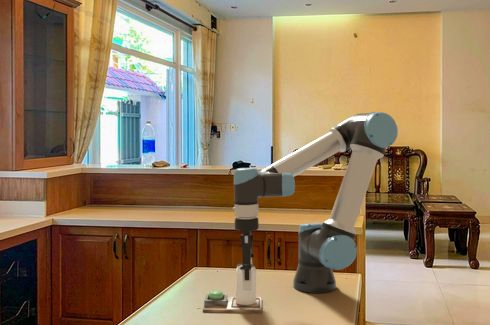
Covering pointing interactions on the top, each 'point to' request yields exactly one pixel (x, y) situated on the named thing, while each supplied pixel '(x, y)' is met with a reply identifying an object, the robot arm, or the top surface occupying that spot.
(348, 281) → the top surface
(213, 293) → the button
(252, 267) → the can
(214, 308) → the tan rectangular board
